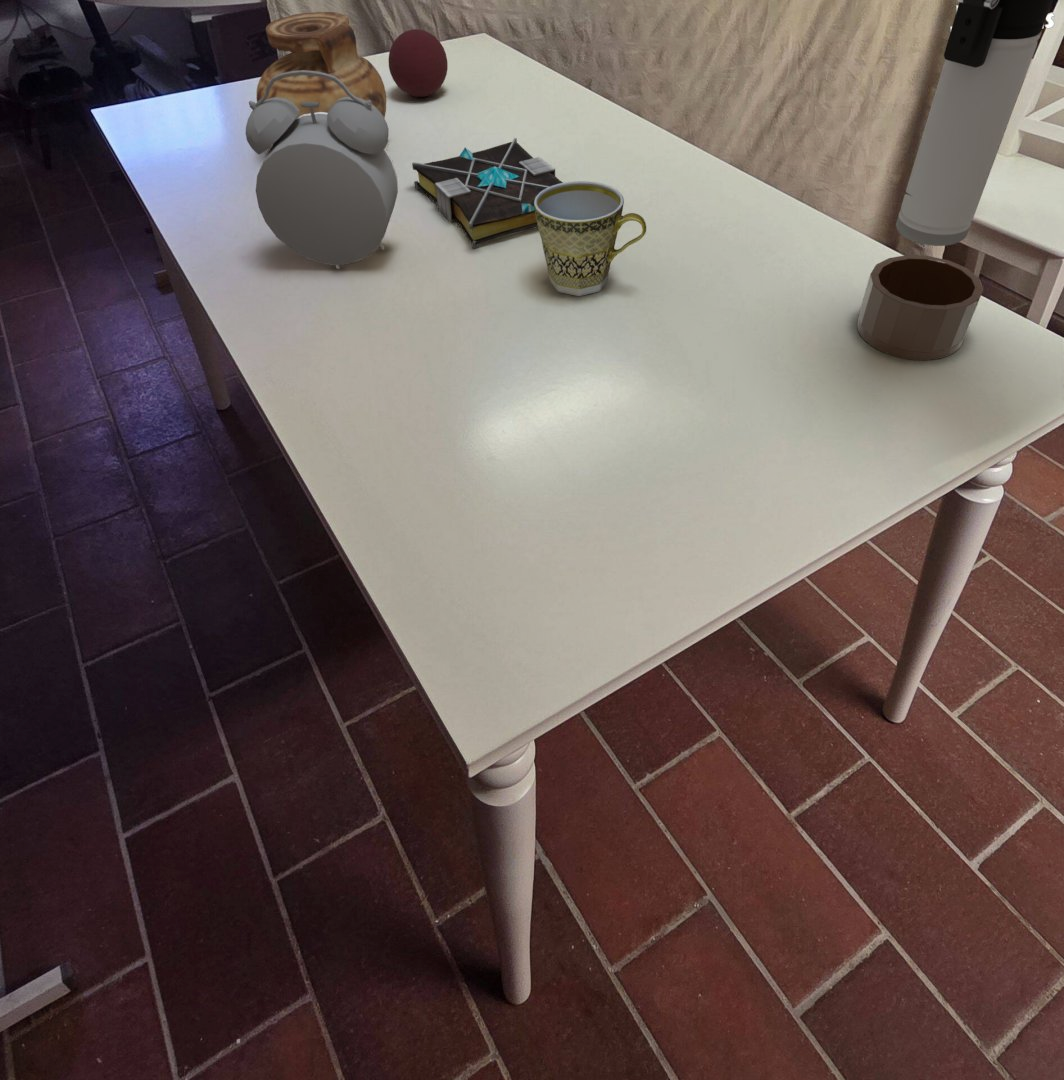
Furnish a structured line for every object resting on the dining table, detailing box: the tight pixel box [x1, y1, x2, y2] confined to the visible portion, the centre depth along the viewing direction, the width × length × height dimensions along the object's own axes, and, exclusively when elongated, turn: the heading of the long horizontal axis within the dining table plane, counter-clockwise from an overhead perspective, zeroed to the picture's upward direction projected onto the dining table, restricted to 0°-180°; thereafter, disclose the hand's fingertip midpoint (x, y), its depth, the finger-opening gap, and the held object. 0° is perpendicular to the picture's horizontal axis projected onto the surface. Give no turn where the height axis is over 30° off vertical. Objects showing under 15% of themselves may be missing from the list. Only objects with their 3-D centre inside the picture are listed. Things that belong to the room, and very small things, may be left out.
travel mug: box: [895, 0, 1054, 247], centre depth 70 cm, size 6×7×20 cm
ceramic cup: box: [534, 180, 647, 297], centre depth 95 cm, size 13×10×10 cm
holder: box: [856, 254, 985, 361], centre depth 87 cm, size 11×11×6 cm
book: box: [411, 137, 564, 249], centre depth 112 cm, size 22×17×5 cm
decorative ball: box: [388, 28, 449, 98], centre depth 140 cm, size 10×10×10 cm
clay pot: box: [256, 11, 387, 120], centre depth 123 cm, size 19×19×20 cm
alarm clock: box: [245, 70, 399, 270], centre depth 97 cm, size 16×9×22 cm, turn 85°
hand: (990, 49), depth 66 cm, fingers closed on travel mug, 6 cm apart
